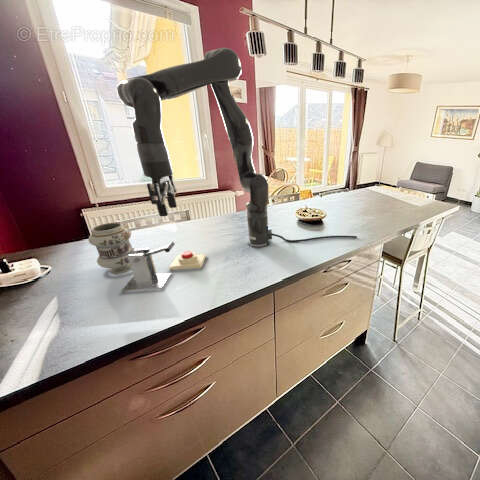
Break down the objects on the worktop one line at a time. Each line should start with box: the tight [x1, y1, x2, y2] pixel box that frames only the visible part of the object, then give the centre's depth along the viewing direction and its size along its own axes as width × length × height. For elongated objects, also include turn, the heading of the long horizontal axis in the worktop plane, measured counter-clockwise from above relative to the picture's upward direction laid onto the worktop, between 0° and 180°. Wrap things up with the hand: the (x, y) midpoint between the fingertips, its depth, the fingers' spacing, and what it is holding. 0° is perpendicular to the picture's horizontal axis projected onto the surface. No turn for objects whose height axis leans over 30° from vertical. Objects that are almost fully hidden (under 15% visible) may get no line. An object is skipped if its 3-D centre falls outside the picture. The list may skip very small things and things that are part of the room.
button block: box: [168, 251, 207, 270], centre depth 97 cm, size 11×9×4 cm
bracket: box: [121, 247, 172, 292], centre depth 82 cm, size 12×9×13 cm
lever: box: [135, 241, 175, 259], centre depth 80 cm, size 12×5×2 cm, turn 101°
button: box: [181, 250, 193, 259], centre depth 96 cm, size 4×4×2 cm
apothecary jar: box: [88, 222, 135, 274], centre depth 88 cm, size 12×12×18 cm
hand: (168, 211), depth 78 cm, fingers open, 8 cm apart
